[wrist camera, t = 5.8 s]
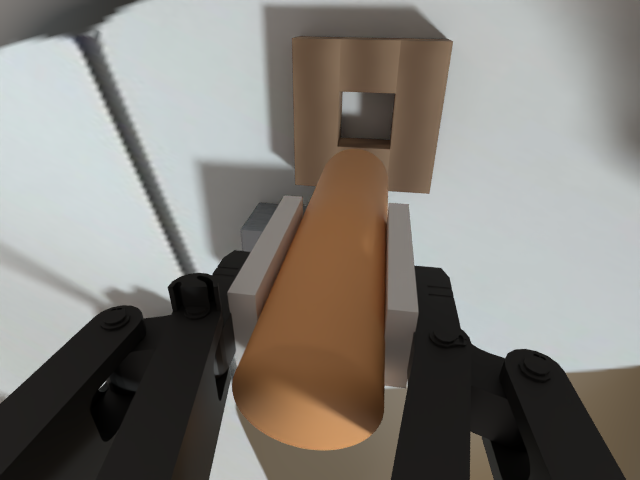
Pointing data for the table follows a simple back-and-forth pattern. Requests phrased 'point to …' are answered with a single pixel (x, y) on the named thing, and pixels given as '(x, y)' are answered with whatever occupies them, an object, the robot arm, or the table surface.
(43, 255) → the table surface
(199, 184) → the table surface
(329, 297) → the pin
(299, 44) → the mount
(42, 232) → the table surface
